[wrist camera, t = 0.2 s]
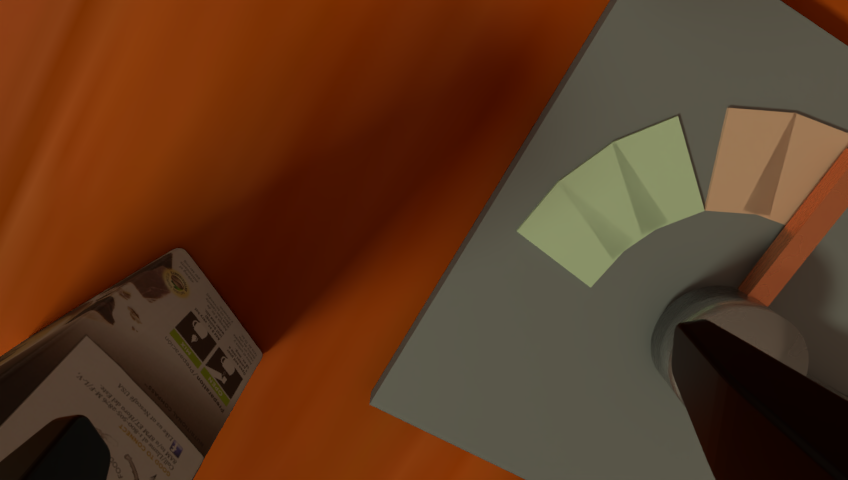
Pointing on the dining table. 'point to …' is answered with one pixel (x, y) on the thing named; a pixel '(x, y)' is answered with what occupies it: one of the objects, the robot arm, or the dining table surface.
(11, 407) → the coffee box
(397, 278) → the dining table surface
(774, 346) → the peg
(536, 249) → the board
